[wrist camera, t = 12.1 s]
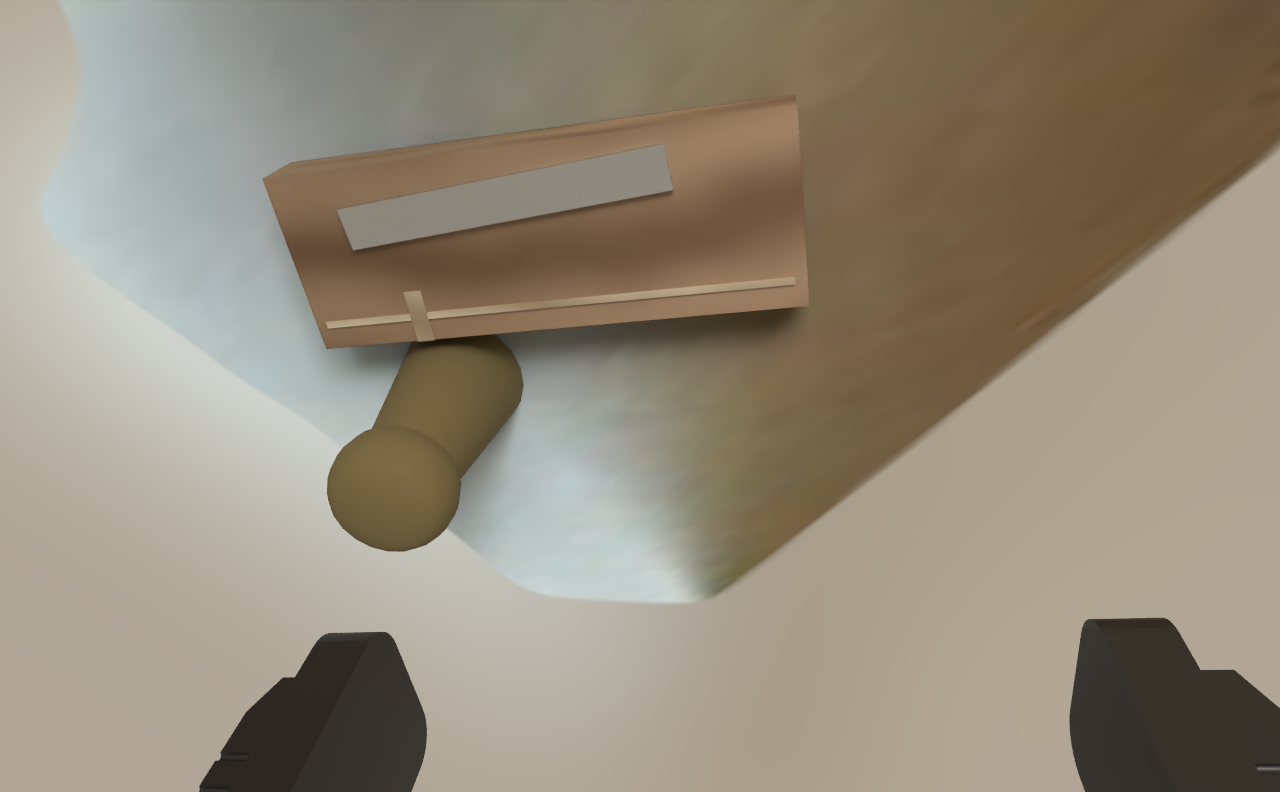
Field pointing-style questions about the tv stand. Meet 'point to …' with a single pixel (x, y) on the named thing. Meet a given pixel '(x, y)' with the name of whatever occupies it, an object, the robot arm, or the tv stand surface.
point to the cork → (424, 441)
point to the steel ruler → (509, 197)
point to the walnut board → (560, 232)
